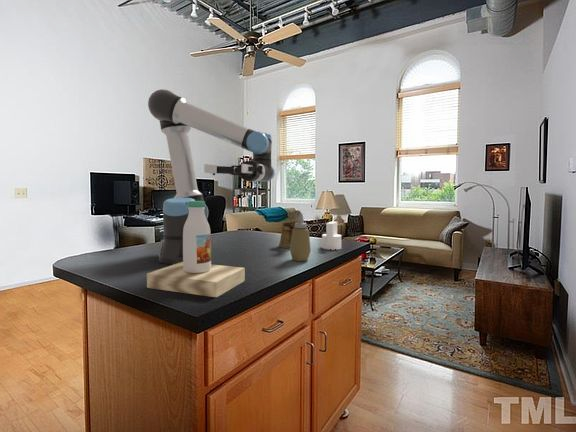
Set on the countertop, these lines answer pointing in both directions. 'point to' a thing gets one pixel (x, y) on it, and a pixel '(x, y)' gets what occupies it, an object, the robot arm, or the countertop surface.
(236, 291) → the countertop surface
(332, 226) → the white tiered cake
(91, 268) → the countertop surface
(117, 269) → the countertop surface
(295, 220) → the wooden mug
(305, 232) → the squeeze bottle
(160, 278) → the board
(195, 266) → the milk bottle
